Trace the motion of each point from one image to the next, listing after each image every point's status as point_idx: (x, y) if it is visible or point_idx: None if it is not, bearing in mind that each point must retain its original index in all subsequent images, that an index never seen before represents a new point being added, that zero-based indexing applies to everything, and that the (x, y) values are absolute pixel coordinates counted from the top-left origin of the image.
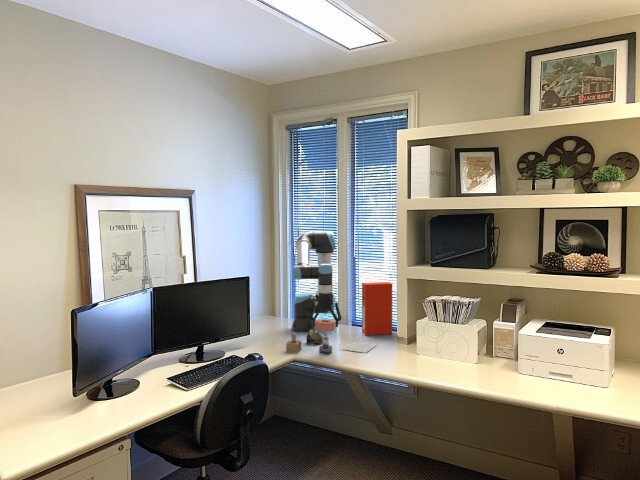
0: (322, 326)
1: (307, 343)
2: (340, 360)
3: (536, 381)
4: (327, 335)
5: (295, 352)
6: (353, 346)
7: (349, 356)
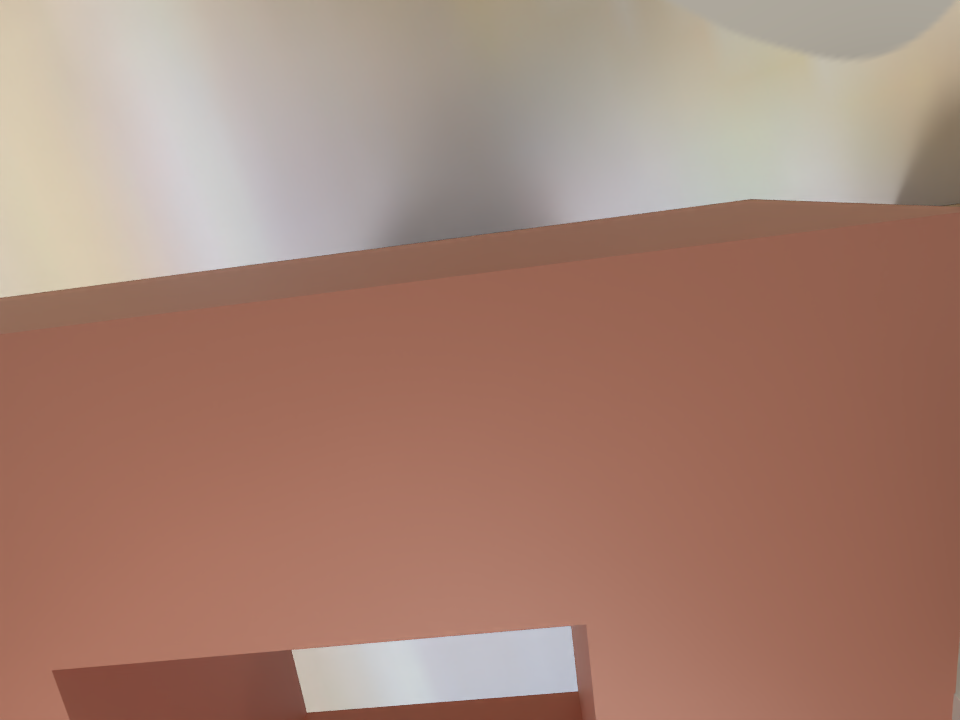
0: (390, 261)
1: None
2: (119, 44)
3: None
4: None
5: (951, 205)
6: None
7: (76, 286)
